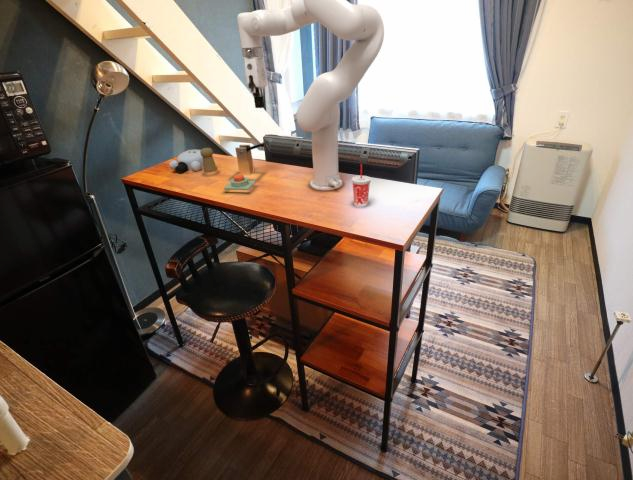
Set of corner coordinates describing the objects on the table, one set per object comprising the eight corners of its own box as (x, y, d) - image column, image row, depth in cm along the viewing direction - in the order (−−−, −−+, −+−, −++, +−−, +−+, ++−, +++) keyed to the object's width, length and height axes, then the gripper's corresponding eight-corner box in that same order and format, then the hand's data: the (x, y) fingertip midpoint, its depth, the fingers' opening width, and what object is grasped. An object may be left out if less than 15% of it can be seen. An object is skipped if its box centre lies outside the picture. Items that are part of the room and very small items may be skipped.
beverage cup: (348, 202, 117) (348, 162, 110) (364, 198, 119) (364, 159, 112) (357, 209, 113) (357, 168, 105) (373, 205, 115) (374, 164, 107)
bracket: (264, 173, 148) (260, 143, 142) (257, 180, 141) (252, 149, 134) (238, 172, 151) (233, 143, 144) (230, 179, 143) (224, 149, 137)
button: (245, 179, 133) (244, 174, 132) (241, 182, 130) (241, 178, 129) (236, 178, 133) (236, 174, 133) (233, 182, 130) (232, 177, 130)
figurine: (190, 160, 168) (164, 179, 153) (184, 143, 163) (158, 161, 148) (221, 162, 164) (198, 181, 149) (216, 144, 159) (192, 163, 143)
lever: (269, 144, 139) (266, 138, 138) (265, 147, 135) (262, 142, 134) (244, 152, 143) (241, 147, 142) (239, 156, 139) (236, 150, 138)
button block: (256, 185, 136) (255, 176, 134) (249, 193, 129) (247, 183, 127) (233, 185, 138) (231, 175, 136) (224, 193, 131) (222, 183, 129)
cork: (220, 170, 154) (215, 146, 148) (215, 175, 149) (209, 150, 143) (207, 171, 155) (201, 146, 149) (202, 175, 150) (196, 150, 144)
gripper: (255, 54, 116) (262, 111, 126) (269, 52, 129) (275, 103, 138) (234, 55, 118) (243, 111, 127) (250, 53, 130) (257, 104, 140)
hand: (259, 107), depth 133 cm, fingers closed
